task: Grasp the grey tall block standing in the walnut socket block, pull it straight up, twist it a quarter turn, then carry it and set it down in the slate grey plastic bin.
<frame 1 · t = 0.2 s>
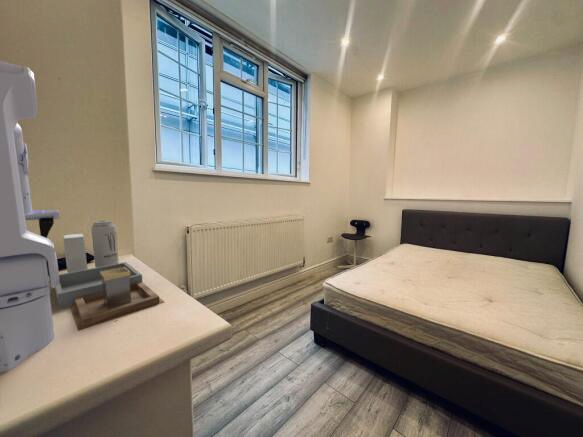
hand: (19, 250, 55), 11 cm above the table, tool pointing down, fingers open, 7 cm apart
socket block: (118, 307, 50), on the table
bin: (99, 290, 58), on the table
grey tall block: (117, 302, 50), point 1 cm above the table, touching socket block
energy drink can: (107, 268, 75), on the table
skincare box: (78, 276, 68), on the table
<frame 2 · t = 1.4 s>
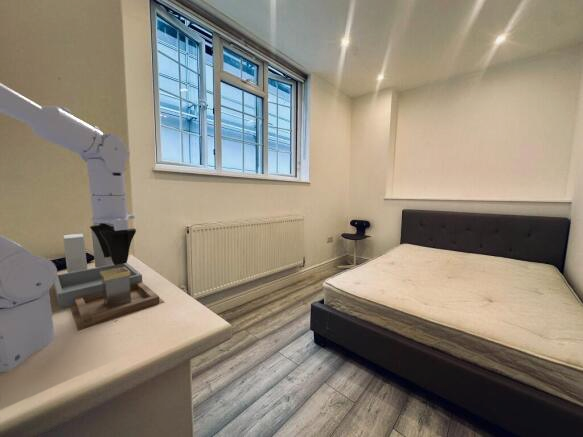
hand: (115, 259, 49), 10 cm above the table, tool pointing down, fingers open, 7 cm apart
nothing on the table moved.
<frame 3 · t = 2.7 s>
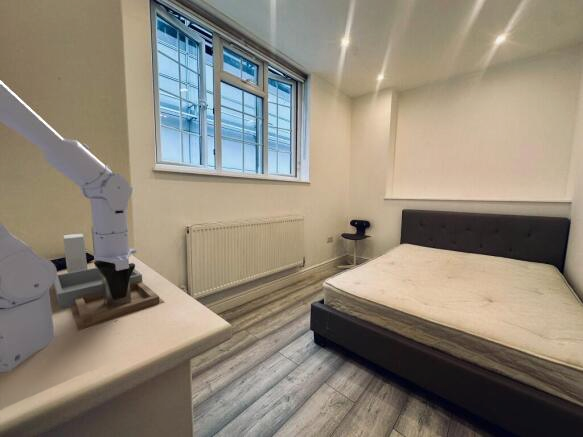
hand: (116, 294, 50), 3 cm above the table, tool pointing down, fingers closed on grey tall block, 4 cm apart
grey tall block: (117, 302, 50), point 1 cm above the table, touching gripper, socket block
everything else where it was.
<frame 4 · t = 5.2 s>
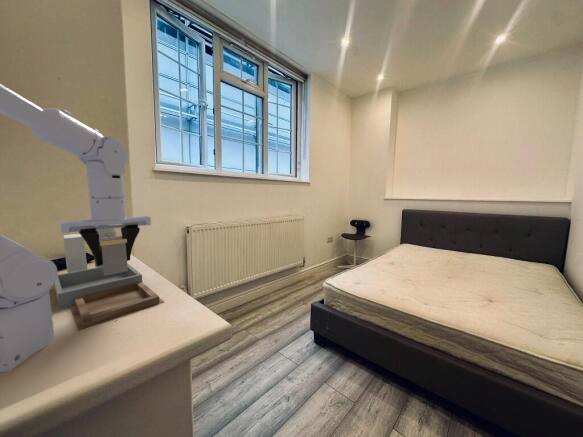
hand: (113, 262, 49), 10 cm above the table, tool pointing down, fingers closed on grey tall block, 4 cm apart
grey tall block: (114, 271, 50), point 8 cm above the table, touching gripper
everything else where it was.
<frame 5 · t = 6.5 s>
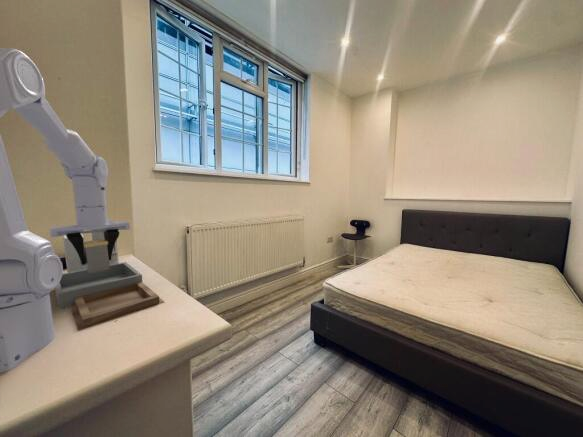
hand: (96, 261, 57), 7 cm above the table, tool pointing down, fingers closed on grey tall block, 4 cm apart
grey tall block: (98, 269, 57), point 6 cm above the table, touching gripper
everything else where it was.
when the fingers open (4 cm above the table, at t = 7.4 s): grey tall block drops 1 cm, resting on bin.
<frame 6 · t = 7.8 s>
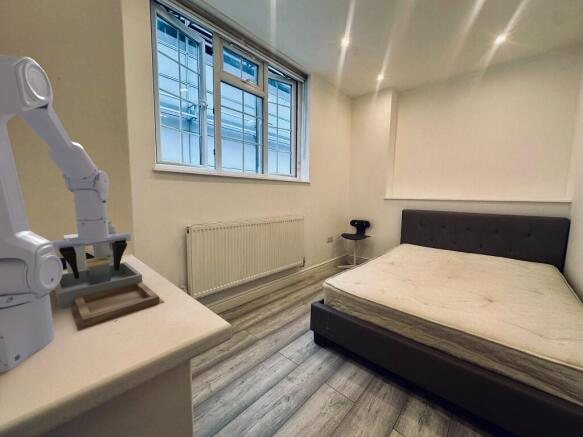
hand: (97, 273, 58), 4 cm above the table, tool pointing down, fingers open, 7 cm apart
grey tall block: (99, 287, 58), point 1 cm above the table, touching bin
everything else where it was.
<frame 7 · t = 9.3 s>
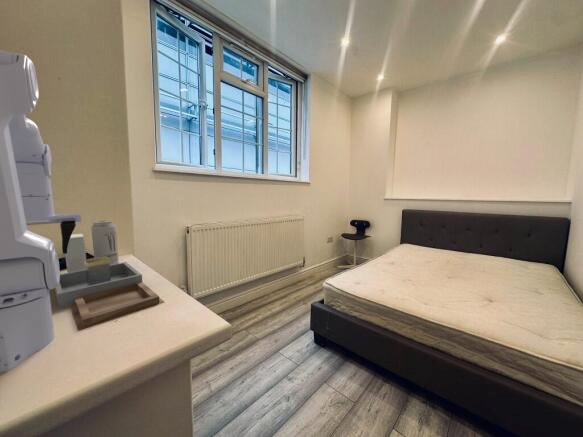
hand: (41, 256, 53), 10 cm above the table, tool pointing down, fingers open, 7 cm apart
nothing on the table moved.
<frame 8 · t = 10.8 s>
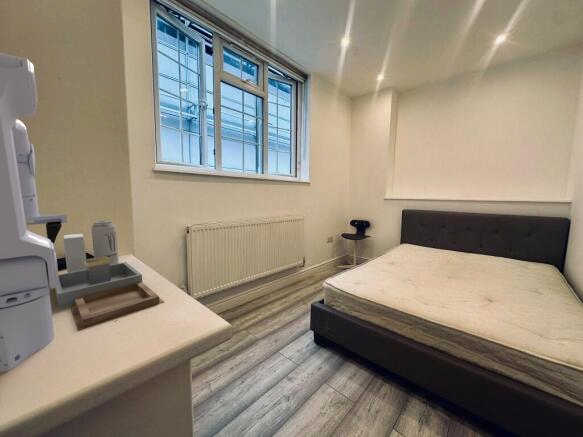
hand: (25, 257, 52), 10 cm above the table, tool pointing down, fingers open, 7 cm apart
nothing on the table moved.
at the end: grey tall block inside the target area on the bin (0.4 cm from its centre), point 1.0 cm above the bin's base; grey tall block tilted 0°; the gripper is holding nothing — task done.
